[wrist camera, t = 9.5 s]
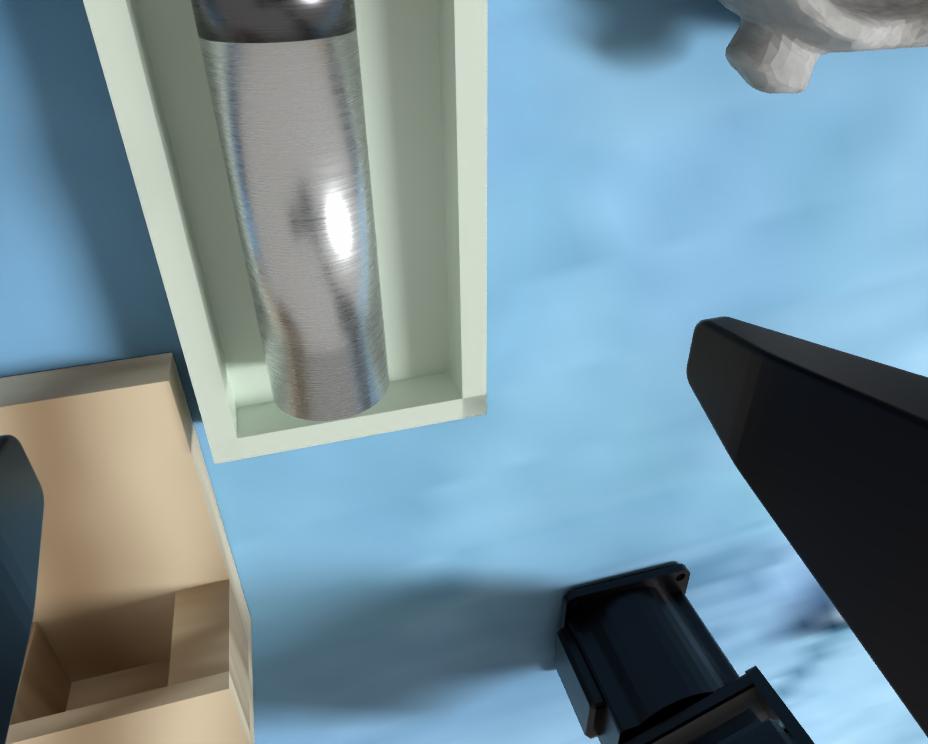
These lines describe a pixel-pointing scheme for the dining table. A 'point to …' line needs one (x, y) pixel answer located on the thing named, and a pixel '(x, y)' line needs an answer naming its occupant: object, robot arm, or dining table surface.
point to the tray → (394, 203)
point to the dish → (816, 35)
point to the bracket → (127, 566)
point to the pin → (301, 194)
